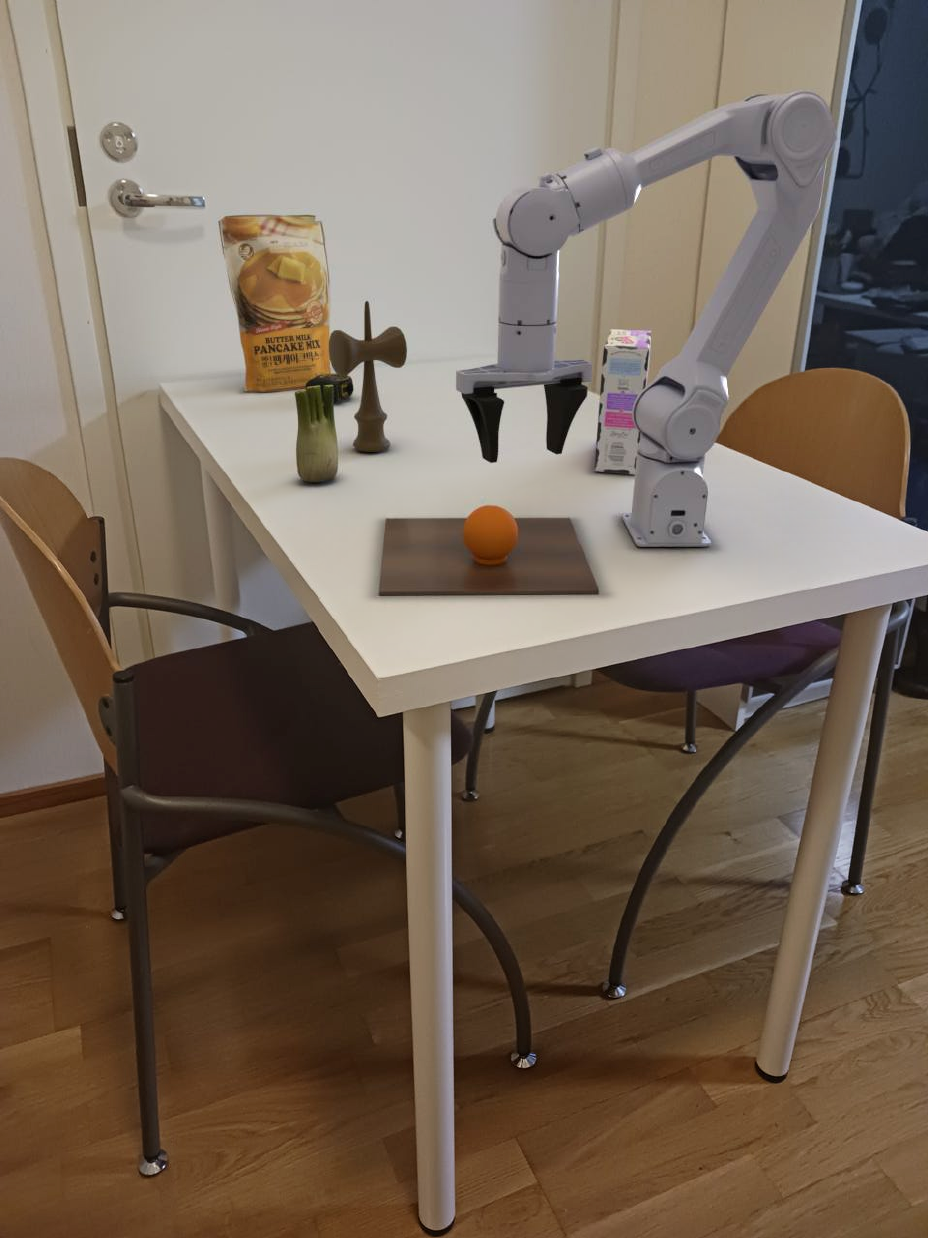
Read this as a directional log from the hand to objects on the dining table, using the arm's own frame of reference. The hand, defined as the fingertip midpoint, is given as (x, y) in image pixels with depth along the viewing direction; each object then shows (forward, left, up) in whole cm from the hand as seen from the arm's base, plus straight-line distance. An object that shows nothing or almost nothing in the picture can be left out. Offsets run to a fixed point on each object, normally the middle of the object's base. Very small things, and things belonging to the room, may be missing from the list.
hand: (522, 455), depth 101 cm
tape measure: (+64, +26, -10) cm, 69 cm away
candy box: (+30, -16, -10) cm, 35 cm away
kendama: (+35, +18, -10) cm, 40 cm away
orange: (-6, +4, -9) cm, 12 cm away
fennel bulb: (+21, +24, -10) cm, 33 cm away
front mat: (-4, +4, -9) cm, 11 cm away
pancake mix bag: (+74, +34, -10) cm, 82 cm away
